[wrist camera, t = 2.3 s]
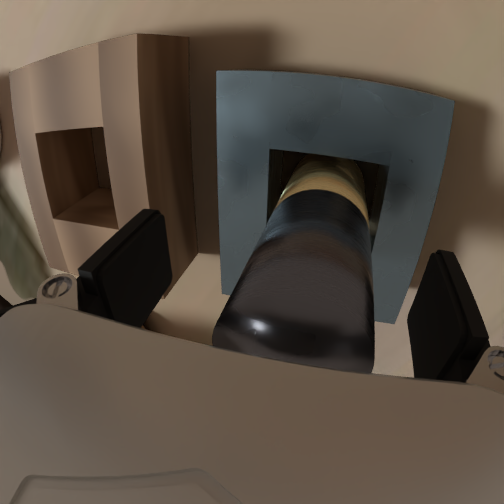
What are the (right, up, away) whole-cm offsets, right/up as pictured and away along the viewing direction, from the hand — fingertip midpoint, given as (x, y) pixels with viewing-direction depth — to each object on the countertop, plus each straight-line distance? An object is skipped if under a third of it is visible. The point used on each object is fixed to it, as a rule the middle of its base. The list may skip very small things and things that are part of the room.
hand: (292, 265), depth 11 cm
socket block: (+3, +4, +6) cm, 8 cm away
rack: (-10, +7, +9) cm, 15 cm away
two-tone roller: (+3, +4, +6) cm, 8 cm away
